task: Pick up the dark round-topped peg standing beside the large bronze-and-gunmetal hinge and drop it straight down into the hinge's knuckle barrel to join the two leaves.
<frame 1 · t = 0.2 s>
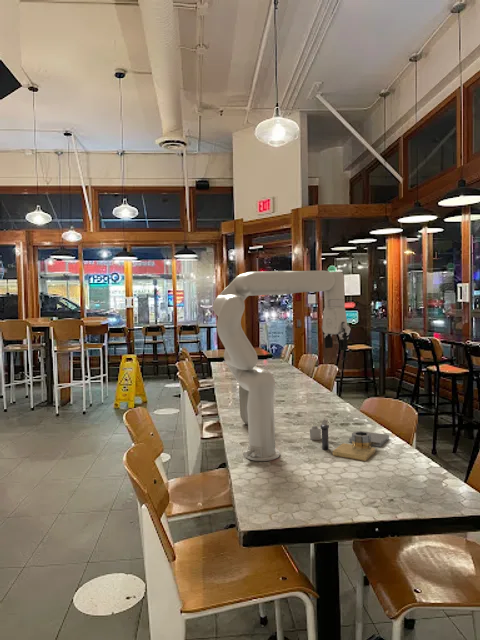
hand: (336, 348, 171), 36 cm above the table, tool pointing down, fingers open, 9 cm apart
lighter: (319, 439, 178), on the table
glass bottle: (251, 424, 203), on the table
dark round-topped peg: (325, 448, 166), on the table
hinge: (361, 447, 166), on the table
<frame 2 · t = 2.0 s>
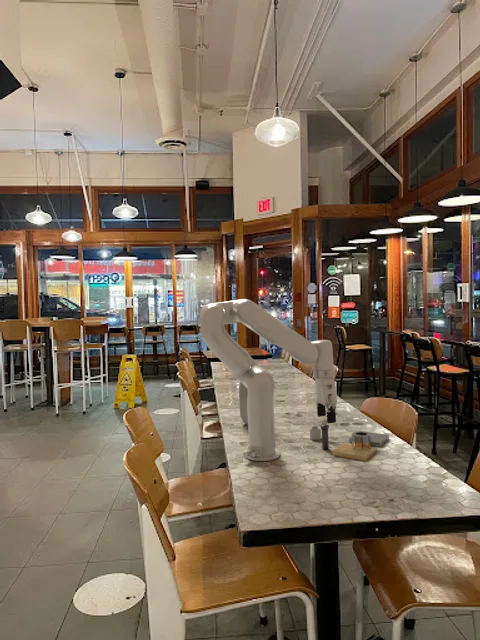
hand: (326, 419, 165), 11 cm above the table, tool pointing down, fingers open, 9 cm apart
nothing on the table moved.
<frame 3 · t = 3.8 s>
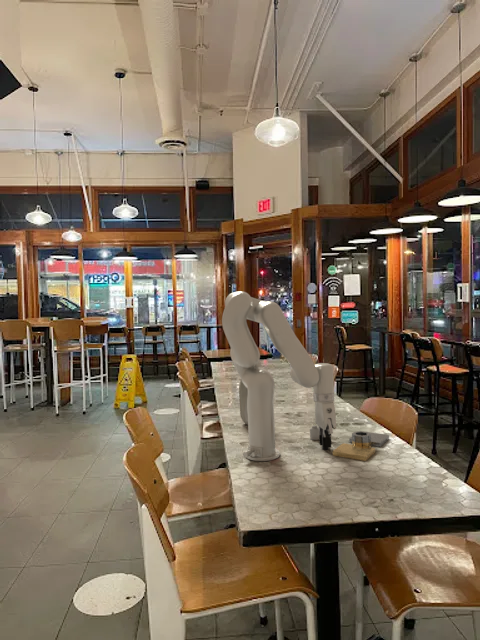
hand: (325, 445, 165), 1 cm above the table, tool pointing down, fingers closed on dark round-topped peg, 2 cm apart
dark round-topped peg: (325, 448, 166), on the table, touching gripper
everything else where it was.
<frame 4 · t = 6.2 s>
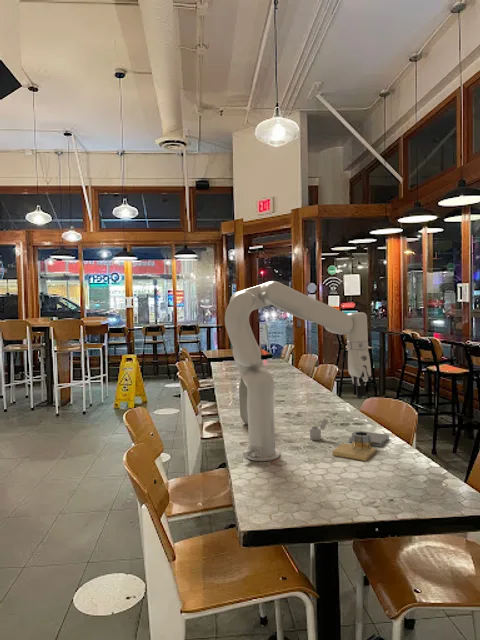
hand: (359, 394, 165), 20 cm above the table, tool pointing down, fingers closed on dark round-topped peg
dark round-topped peg: (359, 397, 165), point 18 cm above the table, touching gripper
everything else where it was.
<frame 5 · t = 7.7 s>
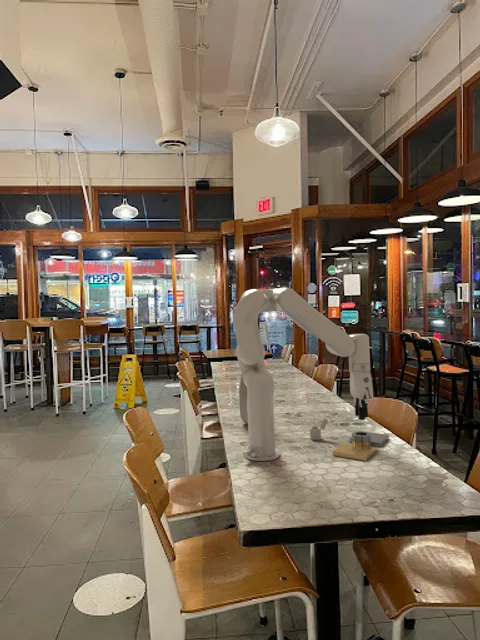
hand: (361, 416, 165), 12 cm above the table, tool pointing down, fingers closed on dark round-topped peg
dark round-topped peg: (361, 419, 166), point 10 cm above the table, touching gripper
everything else where it was.
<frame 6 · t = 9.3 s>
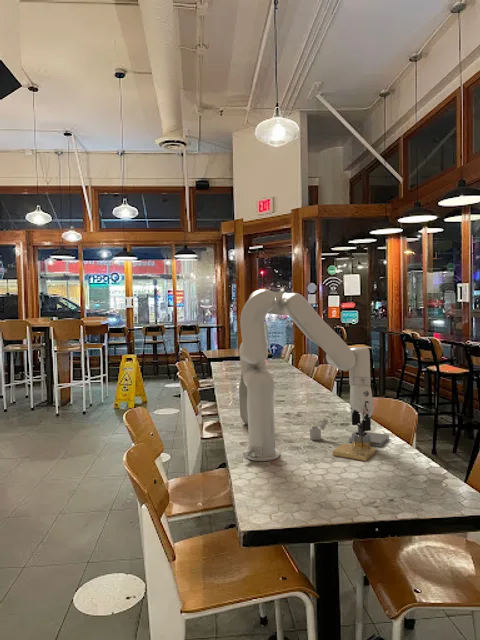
hand: (361, 427, 166), 7 cm above the table, tool pointing down, fingers open, 7 cm apart
dark round-topped peg: (361, 447, 166), resting in hinge
everything else where it was.
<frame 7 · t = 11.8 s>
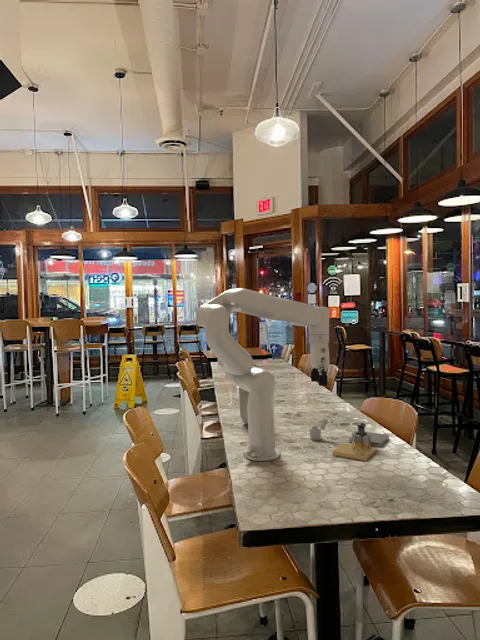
hand: (318, 383, 171), 23 cm above the table, tool pointing down, fingers open, 9 cm apart
nothing on the table moved.
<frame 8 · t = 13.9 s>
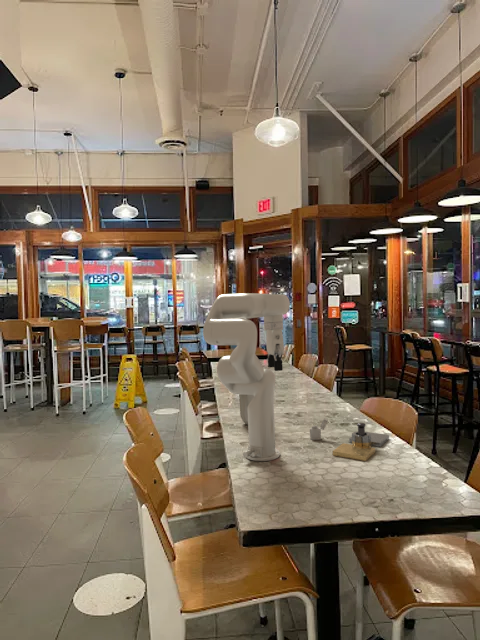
hand: (275, 368, 179), 28 cm above the table, tool pointing down, fingers open, 9 cm apart
nothing on the table moved.
at the end: dark round-topped peg 0.0 cm off-centre on the hinge, point 0.0 cm above the hinge's base; dark round-topped peg tilted 0°; the gripper is holding nothing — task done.
